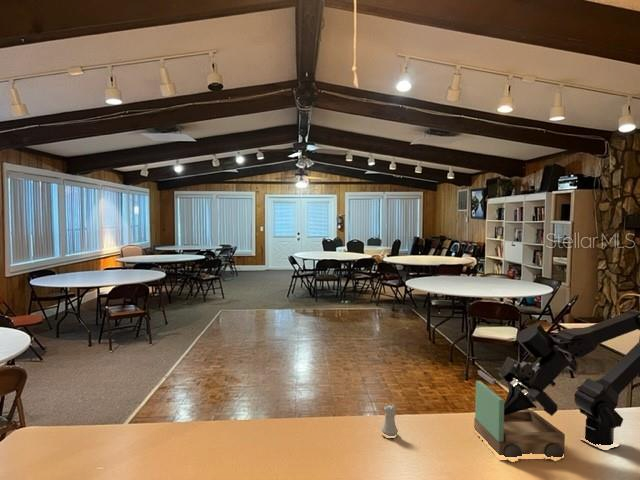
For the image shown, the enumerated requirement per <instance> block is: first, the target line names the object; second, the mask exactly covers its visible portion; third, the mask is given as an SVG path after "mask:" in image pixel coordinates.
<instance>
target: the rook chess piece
mask: <svg viewBox="0 0 640 480" xmlns="http://www.w3.org/2000/svg"><path fill="white" fill-rule="evenodd" d="M383 410H384V411H385V413H384V416H385V417H384V424H383V425H382V427H381V432H383V433H384V434H386V435H388V436H395V435H397V433H398V432H399V430H398V428H397V425H396V421H395V419H396V418H395V417H396V414H395V413H396V411H397V408H396V406H395V404H393V403H386V404H384V408H383Z"/></svg>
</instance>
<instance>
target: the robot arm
mask: <svg viewBox="0 0 640 480" xmlns="http://www.w3.org/2000/svg"><path fill="white" fill-rule="evenodd" d="M635 331H640V310H635V309H630V310H627V311H625V312H624V313H620V314H618V315H616V316H613V317H610V318H607V319H605V320H603V321H600V322H598V323H594V324H591V325H589V326H584V327H571V328H570V327H569V328H565V329H562V330H561V329H560V330H559V331H558V332H557V333H552V334H549V333H548V332H547V331H546V330H545V329H544V327H543V326H542V325H541V324H539V323H534V324H533V325H532V326H528V327H526V328H524V329H522V330H520V331H519V333H518V334H517V336H516V340H517V342H518V343H519V344H520V345H521V346H522V347H523V348H524V349H525V350H526V351H527V352H528V353H529V354H530V356H532V357H533V358H536V359H537V360H536V361H534V363H533V362H531V361H530V362H526V361H521V362H520V361H518V360H515V359H513V358H511V357H509V356H507V357H506V359H505V361H504V364H503V366H502V368H501V369H500V370H499V372H498V373H497V374H498V375H499V376H500V377H501V378H502V379H503V380H504V381H505V382H506V384H507V386H508V393H507V396H506V399H504V415H508V414H511V413H514V412H518V411H521V410H530V409H533V408H534V409H537V404H538V403H539V405H540V406H541V407H542V408H543V412H545V413H547V414H548V415H550V417H553V416H554V415H555V414H556V413H557V412H558V404H557V403H556V402H555V401H554V400H553V399H552V398H551V397H550V396H549V394H547V392H545V390H546V389H547V388H548V387H549V386H551V387H555V386H556V382H555V380H556V379H557V378H558V377H559V376H560V375H561V374H562V373H563V372H564V371H565V369H568V370H570V371H572V372H576V371H577V367H576V360H575V359H573V358H571V357H567V355H566V354H568V355H570V356H573V357H575V358H578V359H579V358H583V357H585V356H587V355H589V354H591V353H592V352H594V351H595V350H596V349H597V347H598V346H599V345H601V344H602V343H605V342H607V341H610V340H613V339H615V338H618V337H621V336H624V335H626V334H629V333H631V332H635ZM556 348H557V349H558V350H557V349H556ZM565 353H566V354H565ZM639 375H640V336H639V337H638V342H637V343H636V345H634V346H633V347H632V348H631V349H630V350H629V351H628V352H627V353H626V354H625V355H624V356H623V357H622V358H621V359H619V361H618V362H617V363H615V365H614V366H612V368H611V369H609V371H608V372H606V374H604V375H603V376H602V377H601V378H600V379H597V380H594V379H591V378H586V379H585V380H584V381H583V383H581V385H579V386H577V387H576V389H577V390H576V391H575V393H574V396H573V397H574V403H575V405H576V407H578V409H579V413H580V414H583V415H584V416H586V418H585V427H584V436H585V439H586V440H588V441H589V442H591V443H593V444H595V445H596V444H598V445H599V444H601V445H611V444H613V442H614V439H615V438H614V433H615V432H614V431H615V429H616V428H620V427H622V424H623V422H624V417H622V416H621V414H619V413H618V412H617V411H616V410H615V409H616V408H617V407H618V404H619V397H620V394H621V392H623V391H624V390H625V389H626V388H627V387H628V386H629V385H630V384H631V383H632V382H633V381H634V380H635V379H636V378H638V376H639Z"/></svg>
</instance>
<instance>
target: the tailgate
mask: <svg viewBox="0 0 640 480" xmlns="http://www.w3.org/2000/svg"><path fill="white" fill-rule="evenodd" d="M477 375H479V376H480V378H483V379H484V381H486V382H488V383H489V384H491V386H495V385H496V384H495V380H494V379H493V378H492V377H490V376H489V375H488V374H486V373H485V372H483V370H481V369H480V370H479V369H478V370H477ZM504 403H505V399H504V398H503V397H501V396H500V395H499V394H498V393H496V392H495V391H494V390H492V389H491V388H490V387H488V385H486V384H485V383H483V382H482V381H481V380H475V405H474V408H475V411H474V418H476V419H477V420H478V421H479V422H480V423H481V424H482V425H483V426H484V427H485V428H486V429H487V430H488V431H489V432H490V434H491V435H492V436H493V437H494V438H495V439H496V440H497V441H498V442H503V439H504Z"/></svg>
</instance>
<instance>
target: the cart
mask: <svg viewBox="0 0 640 480" xmlns="http://www.w3.org/2000/svg"><path fill="white" fill-rule="evenodd" d="M473 420H474V423H473V424H474V425H473V429H474V428H475V430H476V431H477V432H478V433H479V434H480V435H481V436H482V437H483V438H484V439H485V440H486V441H487V442H488V444H489V445H490V446H491V447H492V448H493V449H494V450H495V451H496V452H497V453H498V454H499V455H504V456H505V457H517V456H522V454H530V453H532V454H545V455H546V456H547V457H551V456H553V457H562V456H563V454H564V455H565V451H566V450H565V446H566V445H565V441H566V437H565V436H566V435H565V433H564V432H562V430H560V429H559V428H557V427H556V426H554V425H553V424H552V423H551V422H549V421H548V420H546V419H545V418H544V417H542V416H541V415H540V414H538V413H537V412H535V410H533V409H525V410H521V411H518V412H514V413H511V414H508V415H504V439H503V442H498V441H497V440H496V439H495V438H494V437H493V436H492V435H491V434H490V432H489V431H488V430H487V429H486V428H485V427H484V426H483V425H482V424H481V423H480V422H479V421H478V420H477V419H476V418H475V417H474V419H473Z"/></svg>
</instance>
